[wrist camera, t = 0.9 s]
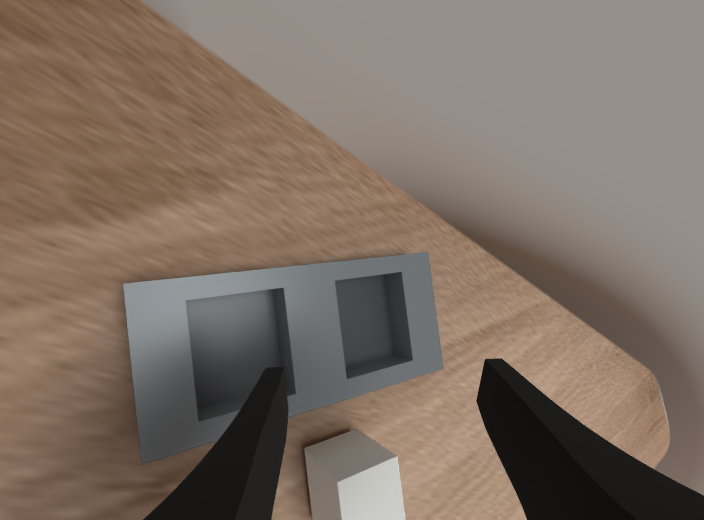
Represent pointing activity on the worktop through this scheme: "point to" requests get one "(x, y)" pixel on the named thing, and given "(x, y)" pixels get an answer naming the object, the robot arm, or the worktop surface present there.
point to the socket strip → (273, 341)
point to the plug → (353, 479)
